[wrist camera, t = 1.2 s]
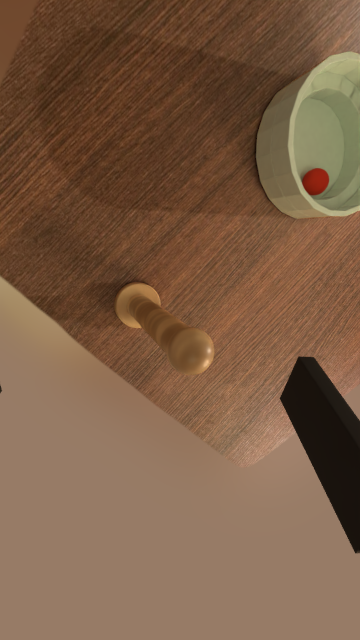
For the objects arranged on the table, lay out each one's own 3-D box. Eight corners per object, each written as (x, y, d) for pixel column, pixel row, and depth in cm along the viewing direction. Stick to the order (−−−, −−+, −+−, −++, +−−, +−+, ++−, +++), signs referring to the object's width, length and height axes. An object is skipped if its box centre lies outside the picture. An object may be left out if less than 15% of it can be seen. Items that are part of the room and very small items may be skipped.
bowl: (257, 69, 33) (296, 36, 27) (359, 91, 38) (409, 67, 32) (249, 218, 37) (282, 215, 31) (343, 219, 42) (385, 217, 37)
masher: (112, 283, 33) (161, 325, 17) (156, 280, 34) (236, 316, 19) (115, 327, 34) (163, 403, 19) (158, 322, 36) (233, 388, 20)
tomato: (297, 169, 37) (316, 164, 34) (316, 171, 38) (336, 166, 35) (295, 196, 38) (313, 193, 35) (314, 197, 39) (333, 194, 36)
